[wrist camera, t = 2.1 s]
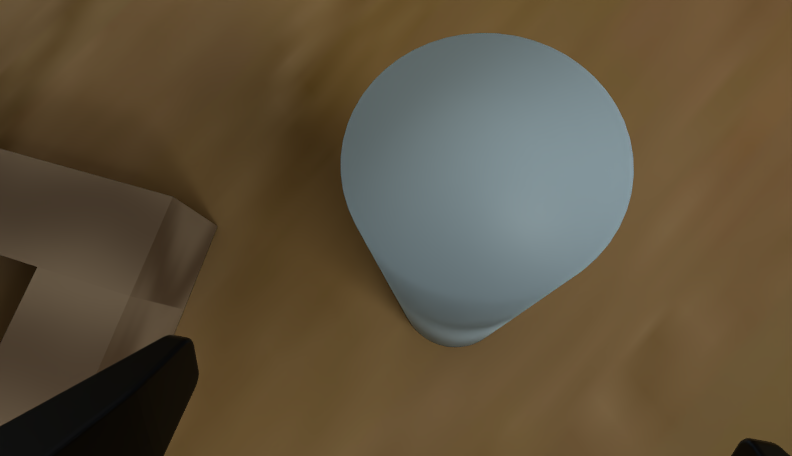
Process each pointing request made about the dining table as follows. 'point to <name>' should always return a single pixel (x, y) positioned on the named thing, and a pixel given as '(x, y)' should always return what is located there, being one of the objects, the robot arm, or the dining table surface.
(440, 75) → the peg
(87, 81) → the dining table surface
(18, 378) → the socket block
